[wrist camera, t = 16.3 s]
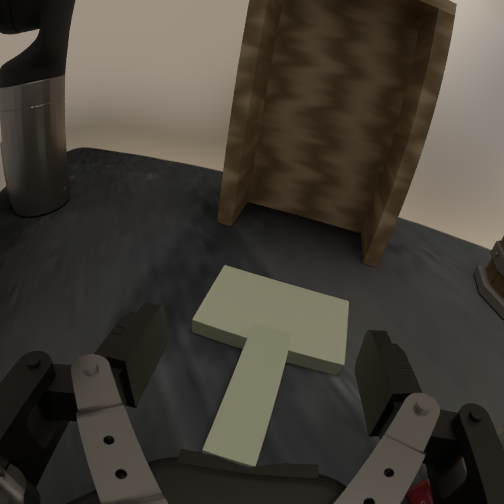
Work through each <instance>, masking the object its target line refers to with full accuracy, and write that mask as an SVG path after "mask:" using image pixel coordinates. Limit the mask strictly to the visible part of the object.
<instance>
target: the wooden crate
mask: <svg viewBox="0 0 504 504" xmlns="http://www.w3.org/2000/svg"><path fill="white" fill-rule="evenodd" d="M455 11H456V4H455V3H453V2H451V1H449V0H249V6H248V11H247V17H246V23H245V29H244V34H243V40H242V46H241V52H240V58H239V64H238V70H237V77H236V83H235V90H234V97H233V103H232V110H231V117H230V125H229V132H228V139H227V147H226V155H225V162H224V169H223V177H222V185H221V194H220V202H219V211H218V220H217V223H221V224H224V225H228V226H232V224H233V223H234V221H235V220H236V218H237V217H238V215H239V214H240V213H241V211H242V210H243V208H244V207H245V205H246V204H247V202H250V203H254V204H257V205H261V206H265V207H269V208H273V209H276V210H280V211H284V212H287V213H291V214H295V215H298V216H302V217H306V218H309V219H313V220H316V221H320V222H323V223H327V224H330V225H334V226H337V227H341V228H344V229H347V230H351V231H354V232H358V233H361V242H362V258H363V264H367V265H370V266H373V267H377V265H378V263H379V261H380V258H381V256H382V254H383V252H384V249H385V247H386V245H387V242H388V240H389V238H390V235H391V233H392V231H393V228H394V226H395V223H396V221H397V218H398V216H399V213H400V211H401V208H402V205H403V203H404V200H405V198H406V195H407V193H408V190H409V187H410V184H411V181H412V179H413V176H414V173H415V170H416V168H417V165H418V162H419V159H420V156H421V152H422V150H423V147H424V143H425V140H426V137H427V133H428V130H429V127H430V124H431V120H432V117H433V113H434V110H435V106H436V102H437V99H438V95H439V91H440V87H441V83H442V79H443V75H444V70H445V66H446V61H447V56H448V52H449V46H450V41H451V36H452V30H453V24H454V18H455Z"/></svg>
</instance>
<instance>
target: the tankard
mask: <svg viewBox="0 0 504 504" xmlns="http://www.w3.org/2000/svg"><path fill="white" fill-rule="evenodd" d="M490 254H491V257H492V259H491V261H490V263H487V264H483V265H480V266H478V267H477V268H476V270H475V272H474V275H475V278H476V282H477V286H478V290H479V294H480V295H481V296H482V297H483V298H484V299H485V300H486V302H487V303H488V304H489V305H490V306H491V307H492V308H493V309H494V310H495V311H496V312H497V314H498V315H499V316H500V317H501V318H502V319H504V237H503V239H502V240H501V241H496V243H495V245H494V247H493V249H492V251H491V253H490Z"/></svg>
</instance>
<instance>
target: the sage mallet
mask: <svg viewBox="0 0 504 504" xmlns="http://www.w3.org/2000/svg"><path fill="white" fill-rule="evenodd" d="M348 306H349V301H346V300H342V299H339V298H335V297H332V296H328V295H325V294H321V293H318V292H314V291H311V290H307V289H304V288H300V287H297V286H293V285H290V284H286V283H283V282H280V281H276V280H273V279H269V278H266V277H263V276H259V275H256V274H253V273H249V272H246V271H242V270H239V269H236V268H232V267H229V266H226V265H224V267H223V269H222V270H221V272H220V274H219V275H218V277H217V279H216V280H215V282H214V284H213V286H212V287H211V289H210V291H209V292H208V294H207V296H206V297H205V299H204V301H203V302H202V304H201V306H200V307H199V309H198V311H197V313H196V314H195V316H194V318H193V319H192V332H193V333H196V334H199V335H202V336H205V337H207V338H210V339H213V340H216V341H219V342H222V343H225V344H228V345H231V346H234V347H237V348H241V349H243V351H242V353H241V356H240V358H239V361H238V363H237V366H236V369H235V371H234V374H233V376H232V379H231V381H230V384H229V386H228V389H227V391H226V394H225V396H224V399H223V401H222V403H221V406H220V408H219V411H218V413H217V416H216V418H215V421H214V423H213V425H212V428H211V430H210V433H209V435H208V438H207V440H206V442H205V445H204V447H203V450H202V453H204V454H210V455H215V456H217V457H220V458H223V459H225V460H228V461H231V462H234V463H236V464H239V465H242V466H245V467H255V466H256V463H257V460H258V457H259V453H260V450H261V447H262V444H263V440H264V437H265V434H266V430H267V427H268V424H269V420H270V417H271V413H272V410H273V406H274V403H275V399H276V396H277V392H278V388H279V385H280V381H281V377H282V374H283V370H284V366H285V362H287V363H291V364H294V365H298V366H301V367H305V368H309V369H313V370H317V371H320V372H324V373H328V374H332V375H337V376H338V374H339V372H340V371H341V369H342V368H343V366H344V363H345V351H346V338H347V324H348Z"/></svg>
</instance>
